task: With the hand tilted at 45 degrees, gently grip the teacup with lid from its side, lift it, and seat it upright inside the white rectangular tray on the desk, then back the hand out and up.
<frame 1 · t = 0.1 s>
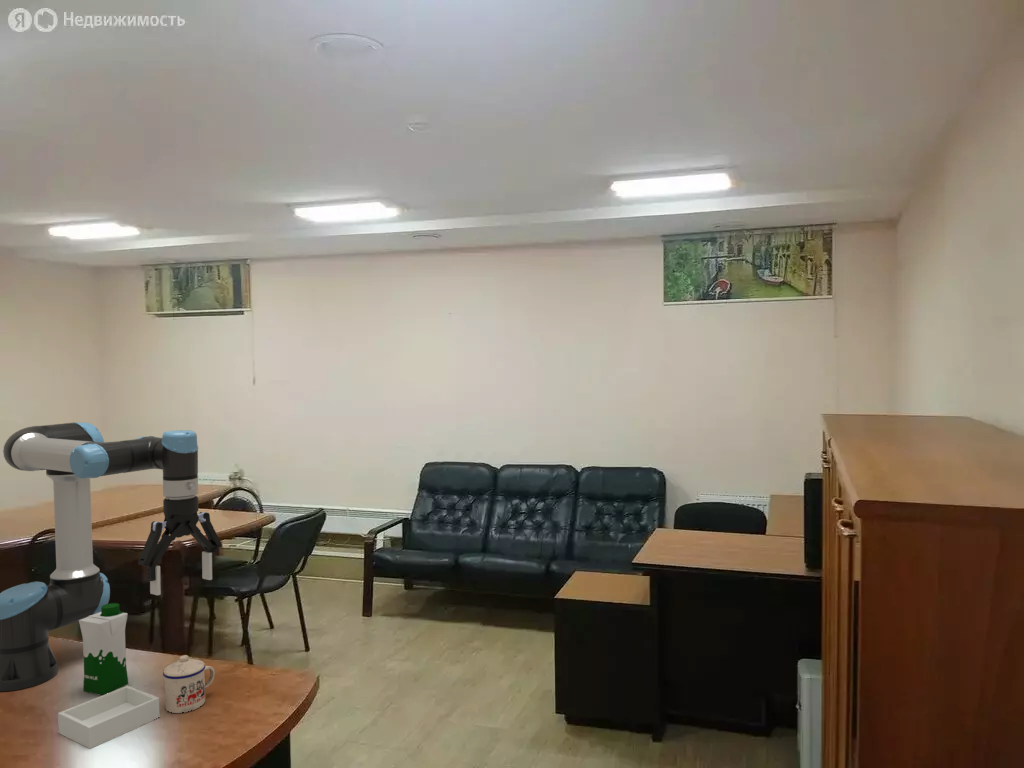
hand: (182, 586, 174), 28 cm above the table, tool pointing down, fingers open, 13 cm apart
teacup with lid: (191, 703, 175), on the table
milk carton: (105, 688, 184), on the table
white rectangular tray: (110, 725, 165), on the table
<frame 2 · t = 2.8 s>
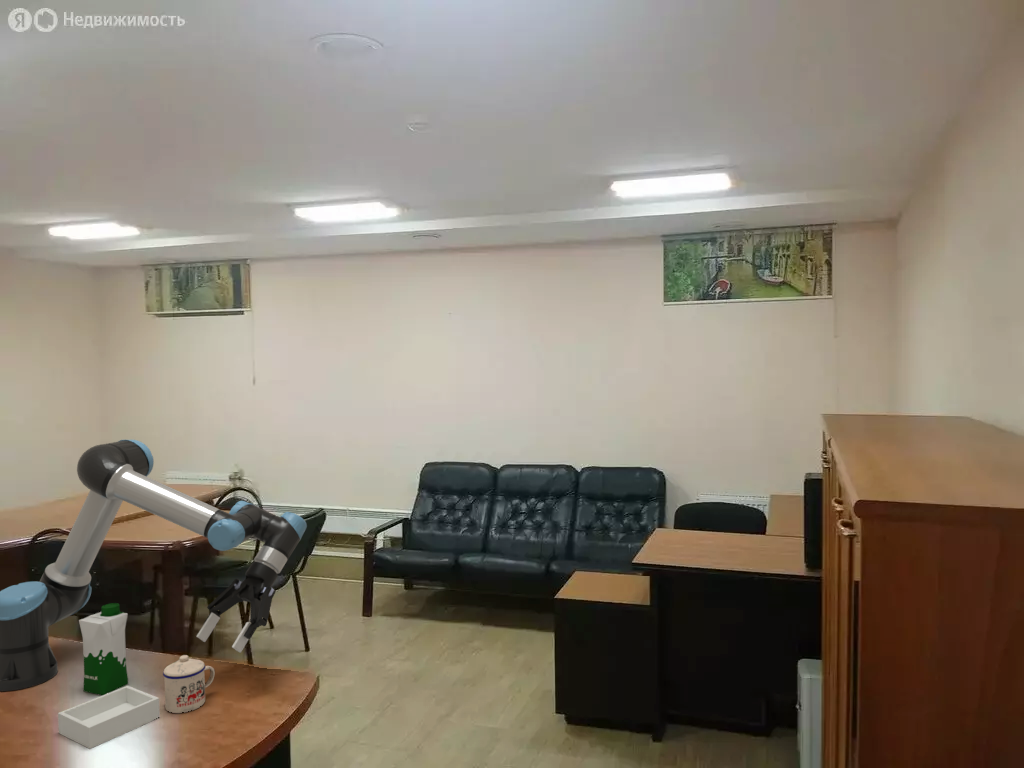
hand: (217, 644, 180), 12 cm above the table, tool tilted 45°, fingers open, 13 cm apart
nothing on the table moved.
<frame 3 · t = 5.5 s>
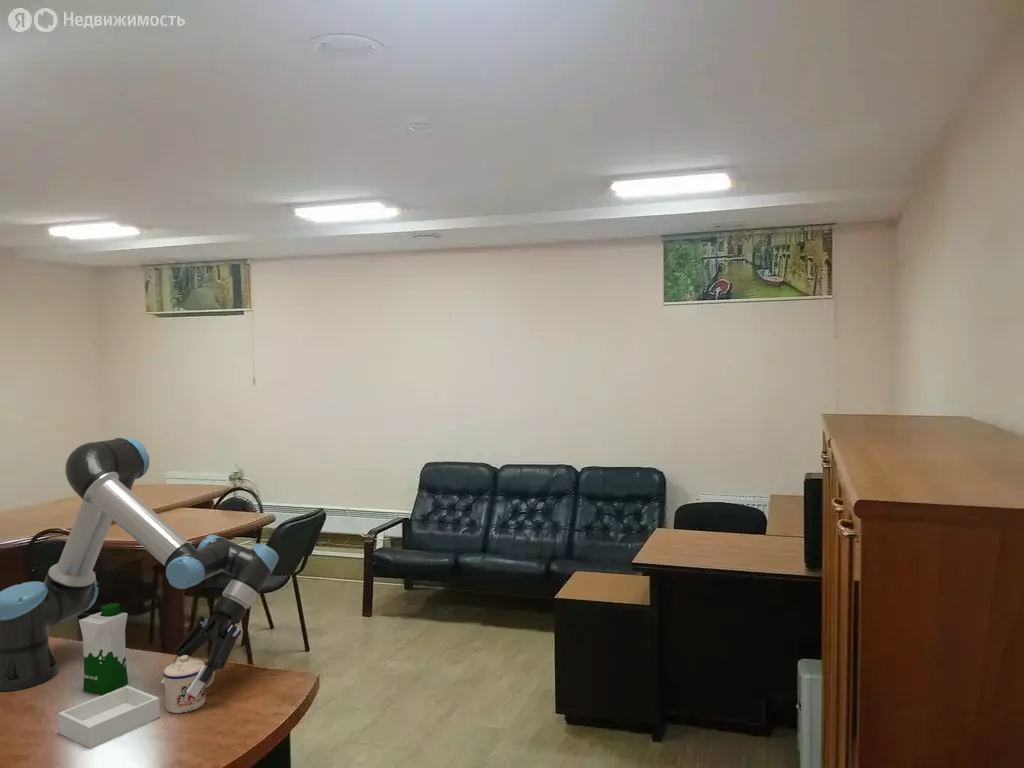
hand: (178, 689, 172), 4 cm above the table, tool tilted 45°, fingers closed on teacup with lid, 9 cm apart
teacup with lid: (191, 703, 175), on the table, touching gripper
everything else where it was.
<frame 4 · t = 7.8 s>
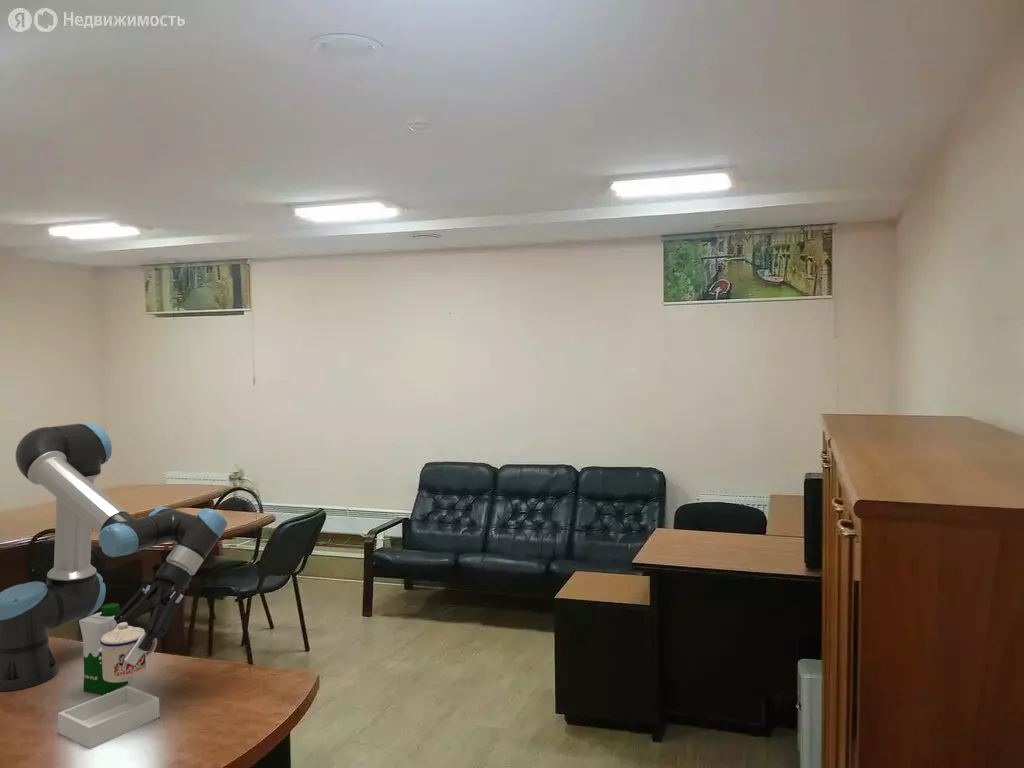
hand: (116, 658, 163), 15 cm above the table, tool tilted 45°, fingers closed on teacup with lid, 9 cm apart
teacup with lid: (131, 673, 166), point 11 cm above the table, touching gripper
everything else where it was.
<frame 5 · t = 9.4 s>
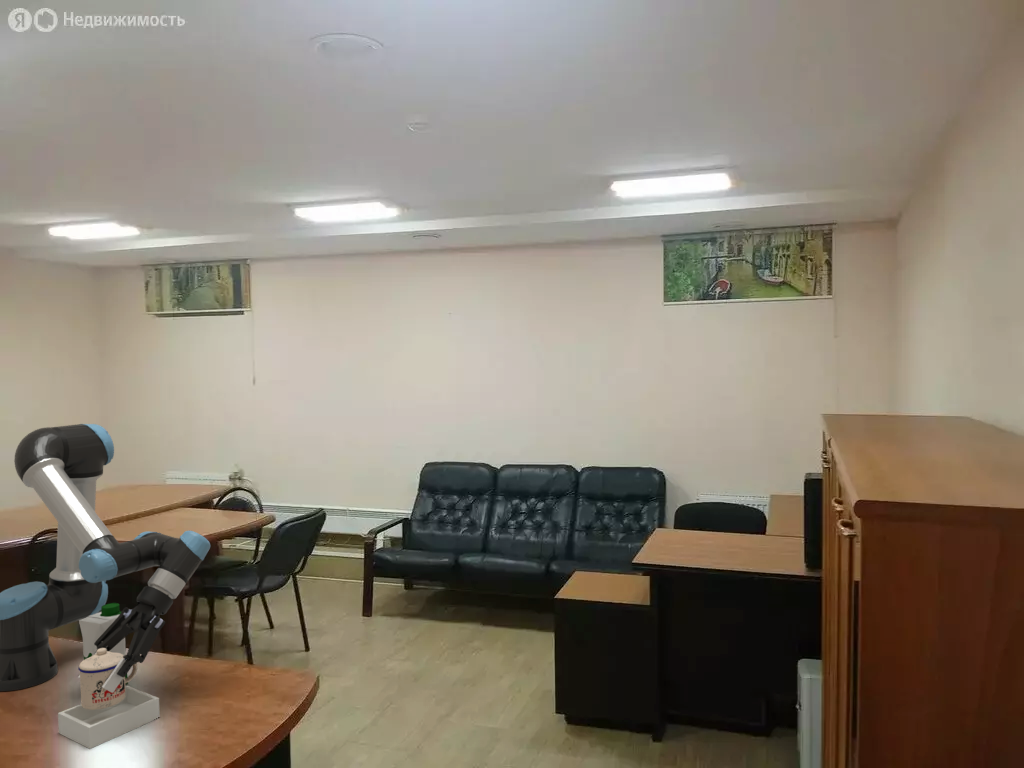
hand: (95, 685, 161), 10 cm above the table, tool tilted 45°, fingers closed on teacup with lid, 9 cm apart
teacup with lid: (110, 699, 164), point 6 cm above the table, touching gripper
everything else where it was.
when the fingers open (7 cm above the table, at t = 10.6 s): teacup with lid drops 2 cm, resting on white rectangular tray.
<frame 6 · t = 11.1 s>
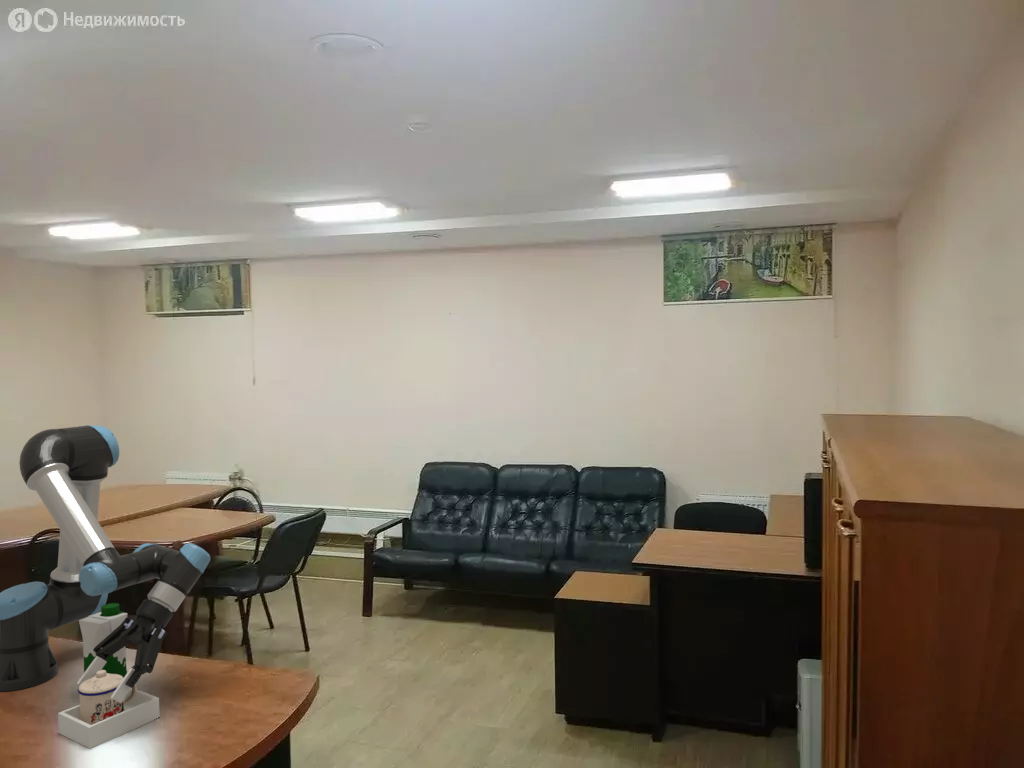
hand: (98, 693, 162), 8 cm above the table, tool tilted 45°, fingers open, 13 cm apart
teacup with lid: (109, 721, 165), point 1 cm above the table, touching white rectangular tray
everything else where it was.
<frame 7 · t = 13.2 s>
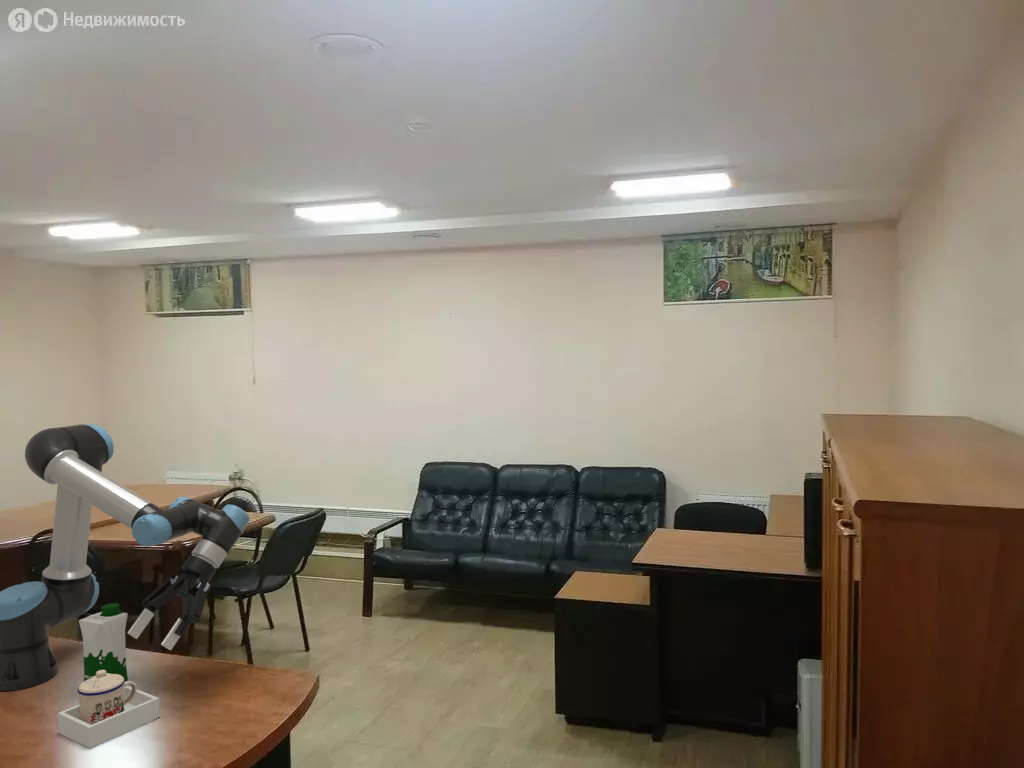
hand: (148, 641, 172), 16 cm above the table, tool tilted 45°, fingers open, 13 cm apart
nothing on the table moved.
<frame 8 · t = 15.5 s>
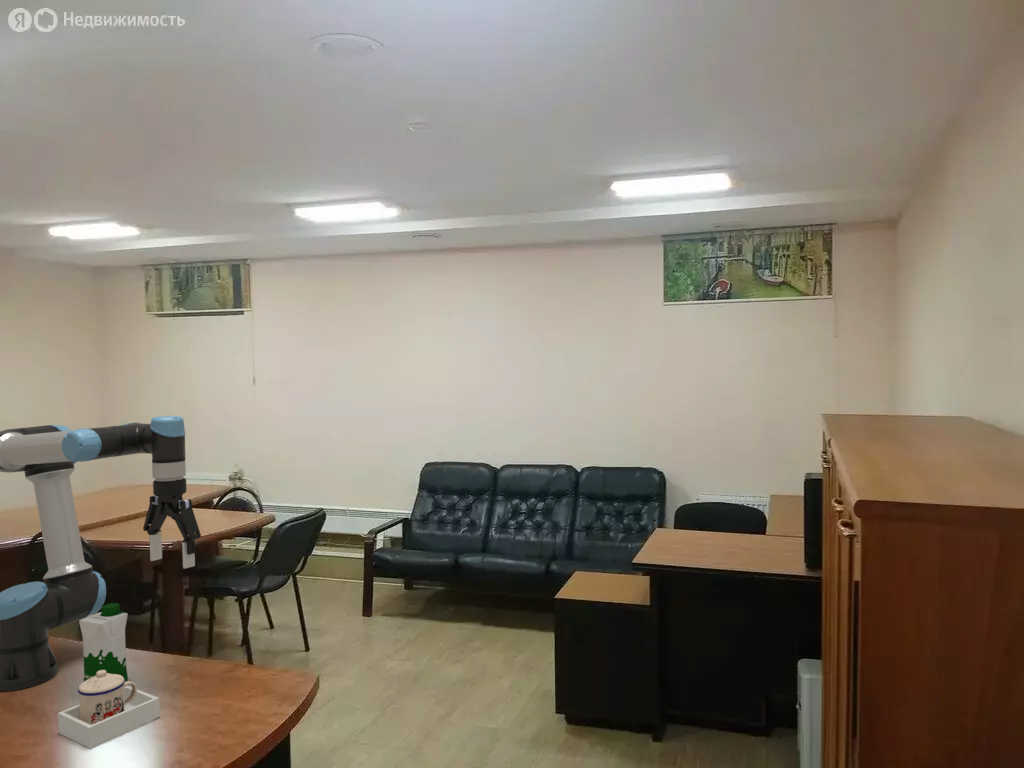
hand: (172, 563, 184), 31 cm above the table, tool pointing down, fingers open, 13 cm apart
nothing on the table moved.
at the end: teacup with lid 0.2 cm off-centre on the white rectangular tray, point 0.8 cm above the white rectangular tray's base; teacup with lid tilted 0°; the gripper is holding nothing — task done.
